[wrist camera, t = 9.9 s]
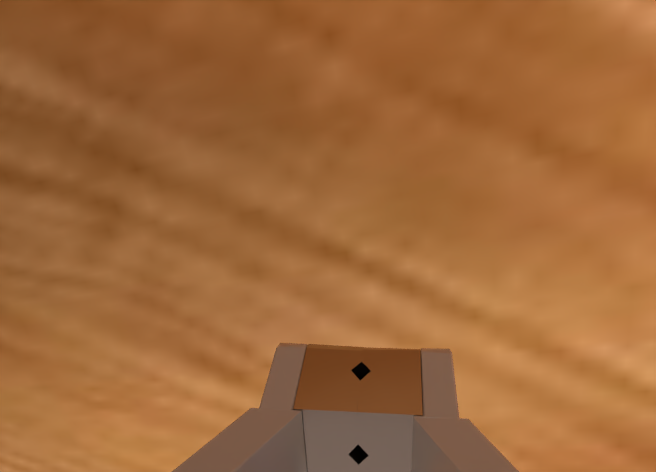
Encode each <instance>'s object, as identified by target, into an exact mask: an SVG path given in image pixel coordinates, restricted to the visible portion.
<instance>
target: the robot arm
mask: <svg viewBox="0 0 656 472" xmlns="http://www.w3.org/2000/svg"><path fill="white" fill-rule="evenodd" d="M172 472H519V471H518V470H517V469H516V468H515V467H514V466H513V465H512V464H511V463H510V462H509V461H508V460H507V459H506V458H505V457H504V456H503V455H502V454H501V453H500V452H499V450H498V449H497V448H496V447H495V446H494V445H493V444H492V443H491V442H490V441H489V440H488V439H487V438H486V437H485V436H484V435H483V434H482V433H481V432H480V431H479V430H478V429H477V428H476V427H475V426H474V424H473V423H472V422H471V421H470V420H469V419H460V418H459V412H458V403H457V394H456V385H455V376H454V368H453V359H452V352H451V351H450V349H426V348H421V350H420V349H399V348H366V347H351V346H334V345H317V344H308V345H307V344H293V343H280V344H279V345H278V347H277V348H276V351H275V355H274V358H273V362H272V365H271V369H270V372H269V376H268V379H267V383H266V386H265V390H264V393H263V397H262V400H261V404H260V407H259V409H258V408H250V409H249V410H248V411H247V412H245V413H244V414H243V415H242V416H240V417H239V418H238V419H237V420H236V421H234V422H233V423H232V424H231V425H229V426H228V427H227V428H226V429H224V430H223V431H222V432H221V433H219V434H218V435H217V436H216V437H214V438H213V439H212V440H211V441H209V442H208V443H207V444H206V445H204V446H203V447H202V448H201V449H199V450H198V451H197V452H196V453H195V454H193V455H192V456H191V457H190V458H188V459H187V460H186V461H185V462H183V463H182V464H181V465H180V466H178V467H177V468H176V469H175V470H173V471H172Z"/></svg>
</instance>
